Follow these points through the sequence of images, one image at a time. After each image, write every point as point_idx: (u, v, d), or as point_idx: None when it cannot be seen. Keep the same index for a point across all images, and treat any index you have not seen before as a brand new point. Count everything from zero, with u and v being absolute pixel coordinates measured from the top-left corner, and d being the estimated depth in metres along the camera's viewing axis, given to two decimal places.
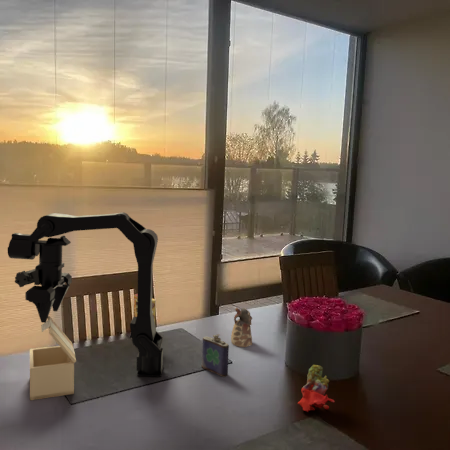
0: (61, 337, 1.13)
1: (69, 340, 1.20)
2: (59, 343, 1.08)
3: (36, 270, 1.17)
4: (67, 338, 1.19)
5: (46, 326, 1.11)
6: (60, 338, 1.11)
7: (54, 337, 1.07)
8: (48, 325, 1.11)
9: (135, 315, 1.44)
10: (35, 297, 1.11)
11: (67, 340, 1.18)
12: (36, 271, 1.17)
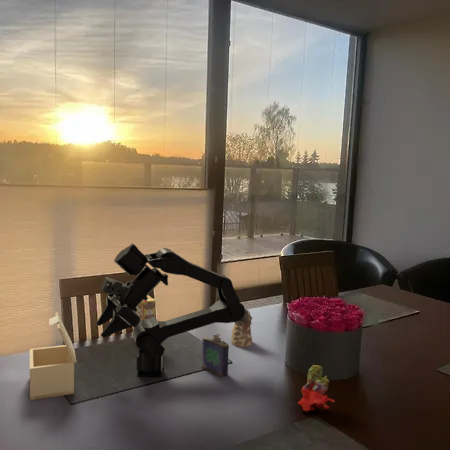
0: (66, 335, 1.13)
1: (70, 340, 1.20)
2: (65, 340, 1.08)
3: (129, 288, 1.17)
4: (69, 337, 1.20)
5: (54, 321, 1.12)
6: (65, 336, 1.12)
7: (61, 333, 1.08)
8: (57, 320, 1.11)
9: None
10: (127, 317, 1.10)
11: None
12: (129, 289, 1.17)
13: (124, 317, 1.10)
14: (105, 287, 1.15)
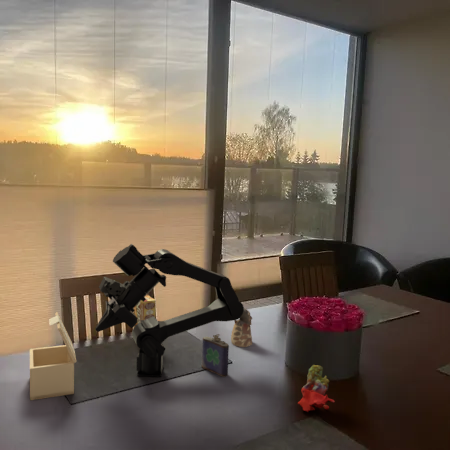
0: (66, 335, 1.13)
1: (70, 340, 1.20)
2: (65, 340, 1.08)
3: (127, 289, 1.16)
4: (69, 337, 1.20)
5: (54, 321, 1.12)
6: (65, 336, 1.12)
7: (61, 333, 1.08)
8: (57, 320, 1.11)
9: None
10: (125, 318, 1.10)
11: None
12: (127, 289, 1.16)
13: (122, 317, 1.10)
14: (103, 287, 1.14)
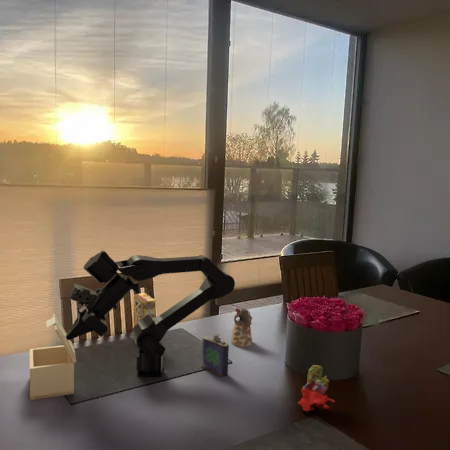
0: (64, 335, 1.13)
1: (70, 340, 1.20)
2: (63, 341, 1.08)
3: (98, 296, 1.14)
4: None
5: (51, 323, 1.11)
6: (63, 336, 1.11)
7: (59, 334, 1.08)
8: (53, 322, 1.11)
9: (135, 315, 1.44)
10: (94, 326, 1.07)
11: None
12: (98, 297, 1.14)
13: (90, 326, 1.07)
14: (73, 294, 1.11)
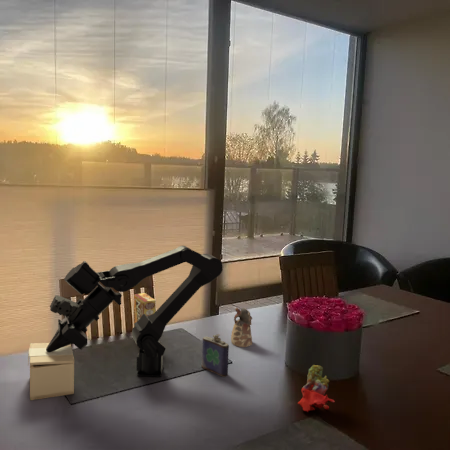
0: (48, 353, 1.12)
1: None
2: (46, 363, 1.07)
3: (79, 308, 1.12)
4: None
5: (28, 358, 1.10)
6: (47, 356, 1.11)
7: (37, 363, 1.06)
8: (28, 356, 1.10)
9: (135, 315, 1.44)
10: (73, 339, 1.06)
11: None
12: (78, 309, 1.12)
13: (70, 339, 1.05)
14: (53, 306, 1.10)
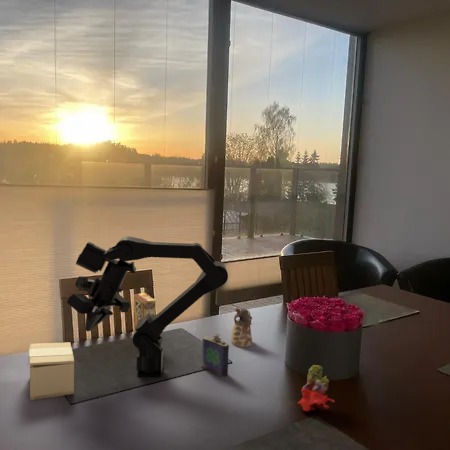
0: (48, 353, 1.12)
1: (65, 343, 1.20)
2: (46, 363, 1.07)
3: (95, 282, 1.20)
4: (61, 343, 1.19)
5: (28, 358, 1.10)
6: (47, 356, 1.11)
7: (37, 363, 1.06)
8: (28, 356, 1.10)
9: (135, 315, 1.44)
10: (73, 303, 1.13)
11: (61, 346, 1.17)
12: (94, 283, 1.20)
13: (70, 304, 1.13)
14: None
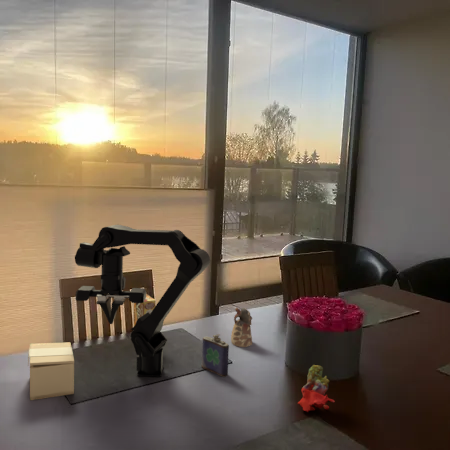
0: (48, 353, 1.12)
1: (65, 343, 1.20)
2: (46, 363, 1.07)
3: None
4: (61, 343, 1.19)
5: (28, 358, 1.10)
6: (47, 356, 1.11)
7: (37, 363, 1.06)
8: (28, 356, 1.10)
9: (135, 315, 1.44)
10: None
11: (61, 346, 1.17)
12: None
13: None
14: None
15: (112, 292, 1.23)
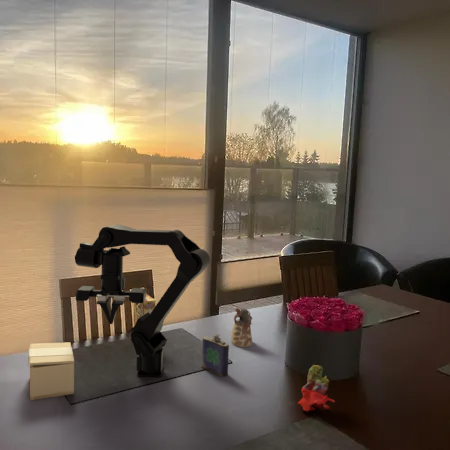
0: (48, 353, 1.12)
1: (65, 343, 1.20)
2: (46, 363, 1.07)
3: None
4: (61, 343, 1.19)
5: (28, 358, 1.10)
6: (47, 356, 1.11)
7: (37, 363, 1.06)
8: (28, 356, 1.10)
9: (135, 315, 1.44)
10: None
11: (61, 346, 1.17)
12: None
13: None
14: None
15: (112, 292, 1.23)
